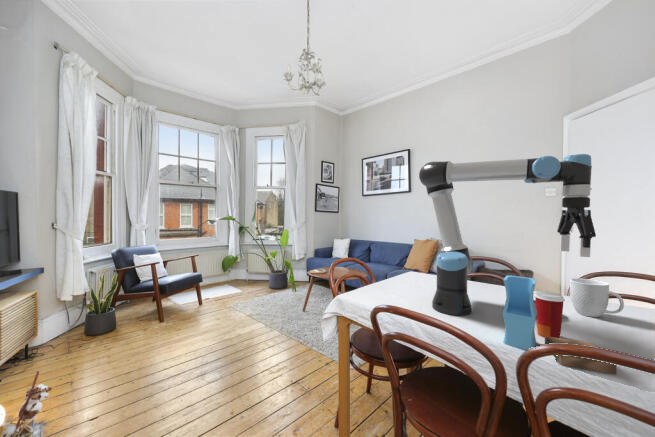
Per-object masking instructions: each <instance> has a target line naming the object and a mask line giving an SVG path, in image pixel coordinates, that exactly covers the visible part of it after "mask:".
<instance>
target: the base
mask: <svg viewBox="0 0 655 437" xmlns="http://www.w3.org/2000/svg"><path fill="white" fill-rule="evenodd" d="M549 343H568V344H578V345H586V346H592V347H596V346H595V345H594V344H593V343H592V342H589V341H582V340H575V339H567V338H566V339H565V338H561V337H560V338H554V337H547V338H544V345H545V344H549ZM552 356H553V357H554V359H556V361H557V362H558V363H559V364H560V365H561V366H566V367H571V368H577V369H578V368H579V369H583V370H589V371H596V372H601V373H607V374H613V375H617V364H616V365H614V364H610V363H606V362H601V361H597V360H592V359H587V358H581V357H574V356H563V355H558V356H556V355H552Z"/></svg>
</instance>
